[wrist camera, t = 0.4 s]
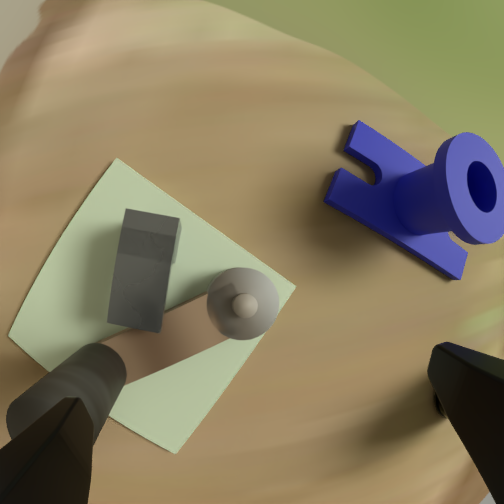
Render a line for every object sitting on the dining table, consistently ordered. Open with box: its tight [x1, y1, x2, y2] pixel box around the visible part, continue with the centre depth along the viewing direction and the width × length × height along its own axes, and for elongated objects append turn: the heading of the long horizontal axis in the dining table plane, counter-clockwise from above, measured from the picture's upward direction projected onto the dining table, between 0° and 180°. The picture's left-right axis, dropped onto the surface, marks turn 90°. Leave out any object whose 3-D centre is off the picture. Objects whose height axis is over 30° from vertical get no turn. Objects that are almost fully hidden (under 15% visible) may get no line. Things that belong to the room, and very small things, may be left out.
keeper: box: [107, 208, 182, 333], centre depth 19 cm, size 3×6×5 cm, turn 170°
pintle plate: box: [8, 158, 296, 454], centre depth 21 cm, size 16×15×1 cm
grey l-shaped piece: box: [6, 267, 279, 445], centre depth 15 cm, size 14×4×11 cm, turn 115°
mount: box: [324, 120, 504, 280], centre depth 21 cm, size 15×8×9 cm, turn 65°
